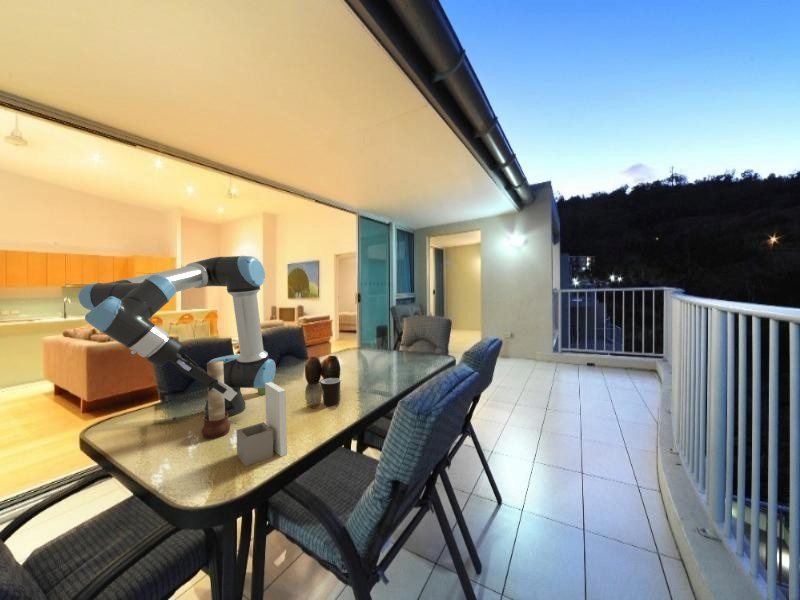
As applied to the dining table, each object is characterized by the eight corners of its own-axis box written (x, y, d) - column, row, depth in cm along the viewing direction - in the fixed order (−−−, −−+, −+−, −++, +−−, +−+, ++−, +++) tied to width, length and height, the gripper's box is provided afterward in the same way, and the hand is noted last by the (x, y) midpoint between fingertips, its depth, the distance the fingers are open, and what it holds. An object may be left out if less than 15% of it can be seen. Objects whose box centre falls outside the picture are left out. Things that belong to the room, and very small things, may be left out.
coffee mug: (338, 406, 133) (338, 383, 133) (318, 406, 133) (318, 383, 133) (344, 397, 145) (343, 376, 144) (325, 397, 145) (325, 376, 144)
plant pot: (270, 396, 147) (269, 378, 147) (250, 396, 147) (250, 378, 147) (278, 390, 156) (277, 373, 156) (260, 390, 157) (259, 373, 156)
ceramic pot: (225, 419, 121) (224, 402, 121) (255, 429, 113) (254, 410, 112) (174, 440, 105) (173, 420, 105) (204, 453, 97) (203, 432, 97)
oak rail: (205, 420, 86) (203, 364, 85) (215, 414, 90) (213, 360, 89) (218, 420, 86) (217, 364, 85) (228, 415, 90) (226, 360, 89)
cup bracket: (247, 469, 87) (245, 399, 86) (235, 453, 96) (233, 389, 95) (287, 454, 95) (285, 390, 94) (272, 440, 103) (271, 381, 103)
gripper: (143, 353, 83) (215, 398, 95) (146, 364, 71) (228, 415, 82) (167, 332, 87) (233, 378, 98) (174, 339, 74) (249, 390, 86)
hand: (231, 394), depth 90 cm, fingers closed on oak rail, 4 cm apart
